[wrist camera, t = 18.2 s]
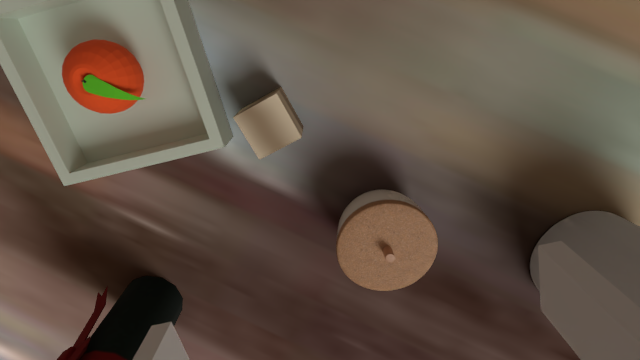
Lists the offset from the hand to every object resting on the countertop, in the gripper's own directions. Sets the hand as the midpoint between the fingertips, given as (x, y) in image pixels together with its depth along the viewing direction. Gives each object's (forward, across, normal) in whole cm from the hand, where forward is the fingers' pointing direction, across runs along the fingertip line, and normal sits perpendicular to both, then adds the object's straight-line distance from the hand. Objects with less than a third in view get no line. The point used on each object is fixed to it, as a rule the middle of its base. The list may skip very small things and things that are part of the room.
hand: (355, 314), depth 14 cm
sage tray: (+32, -20, +10) cm, 39 cm away
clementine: (+31, -20, +10) cm, 38 cm away
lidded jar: (+32, +3, -13) cm, 35 cm away
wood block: (+32, -6, +2) cm, 32 cm away
